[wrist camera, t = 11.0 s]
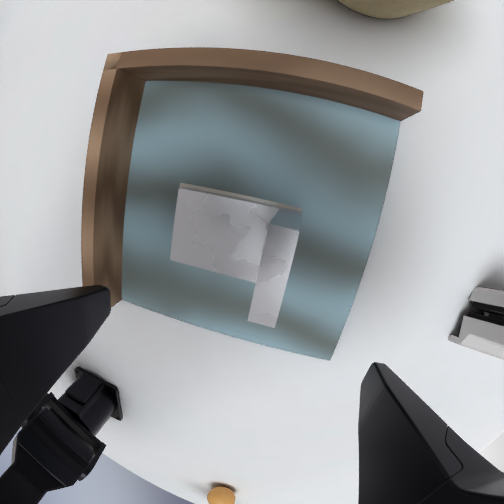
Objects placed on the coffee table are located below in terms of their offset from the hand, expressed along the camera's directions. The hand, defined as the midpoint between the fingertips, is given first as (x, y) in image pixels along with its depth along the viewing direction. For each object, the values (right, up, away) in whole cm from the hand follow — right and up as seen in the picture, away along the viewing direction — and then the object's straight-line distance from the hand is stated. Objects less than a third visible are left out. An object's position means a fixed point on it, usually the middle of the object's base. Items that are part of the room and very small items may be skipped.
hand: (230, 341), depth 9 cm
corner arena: (0, +5, +11) cm, 12 cm away
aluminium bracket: (0, +4, +11) cm, 12 cm away
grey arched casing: (+26, -4, +9) cm, 27 cm away
